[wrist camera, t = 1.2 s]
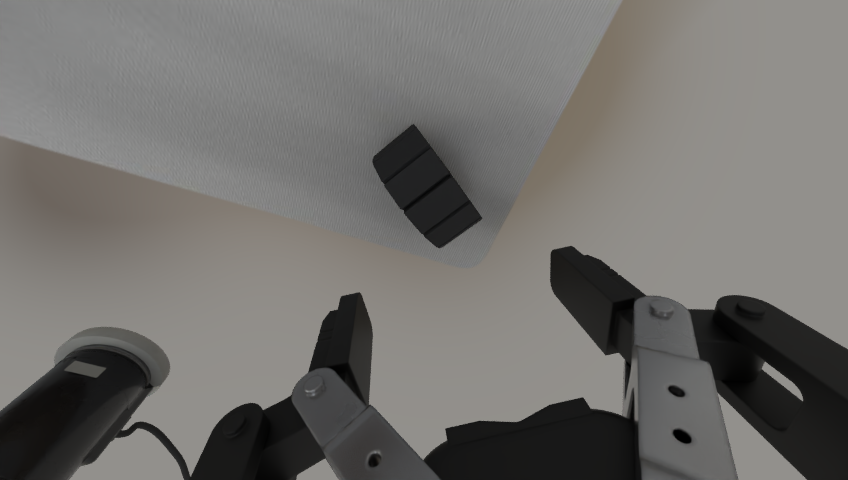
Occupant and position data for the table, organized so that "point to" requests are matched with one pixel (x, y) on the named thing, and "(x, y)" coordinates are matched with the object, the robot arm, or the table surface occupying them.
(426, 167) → the black toy tire
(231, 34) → the table surface
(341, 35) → the table surface
